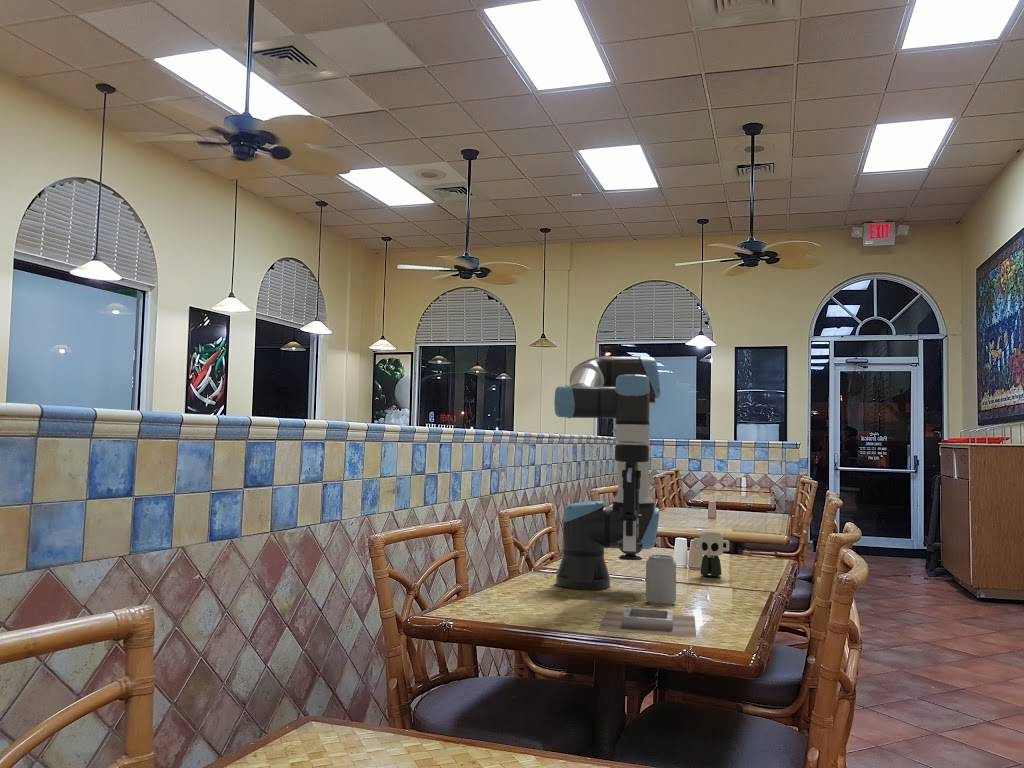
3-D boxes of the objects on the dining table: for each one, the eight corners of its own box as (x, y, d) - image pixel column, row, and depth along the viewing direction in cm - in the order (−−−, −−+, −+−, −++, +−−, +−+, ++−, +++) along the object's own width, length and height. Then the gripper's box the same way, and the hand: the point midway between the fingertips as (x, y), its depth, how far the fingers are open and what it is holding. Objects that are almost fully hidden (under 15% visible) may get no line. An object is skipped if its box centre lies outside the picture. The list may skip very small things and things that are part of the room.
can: (679, 606, 198) (679, 558, 199) (649, 606, 198) (649, 557, 198) (671, 600, 205) (672, 553, 206) (642, 600, 205) (643, 553, 206)
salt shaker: (617, 556, 179) (617, 502, 180) (643, 557, 179) (644, 503, 179) (616, 560, 174) (617, 504, 174) (644, 561, 173) (644, 505, 174)
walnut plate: (606, 615, 186) (606, 610, 186) (694, 621, 182) (694, 616, 182) (598, 636, 167) (598, 630, 167) (696, 643, 163) (696, 637, 163)
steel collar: (626, 616, 181) (626, 607, 181) (673, 619, 179) (673, 610, 179) (622, 626, 171) (623, 617, 171) (672, 630, 168) (672, 620, 169)
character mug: (690, 576, 242) (691, 533, 243) (694, 573, 249) (695, 531, 250) (727, 579, 238) (728, 535, 239) (730, 576, 245) (731, 533, 246)
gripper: (619, 443, 188) (618, 543, 186) (610, 443, 170) (608, 553, 168) (651, 444, 186) (650, 544, 185) (646, 444, 168) (645, 555, 166)
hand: (630, 548), depth 176 cm, fingers closed on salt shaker, 6 cm apart
